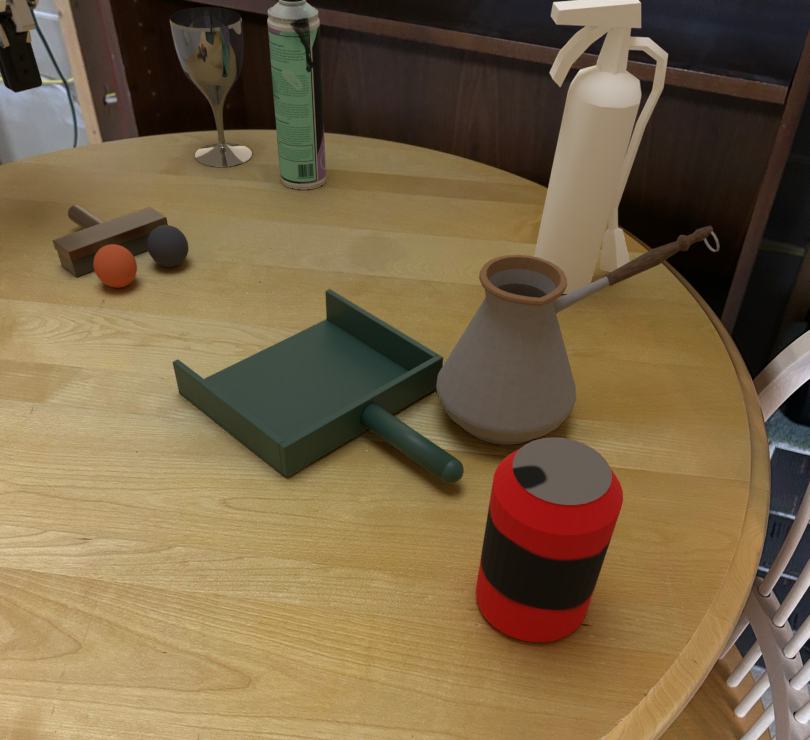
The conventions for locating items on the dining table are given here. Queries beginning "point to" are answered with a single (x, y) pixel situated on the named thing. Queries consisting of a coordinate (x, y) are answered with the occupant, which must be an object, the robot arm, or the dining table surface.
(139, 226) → the brush
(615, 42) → the fire extinguisher
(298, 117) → the spray can
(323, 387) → the dustpan
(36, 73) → the robot arm
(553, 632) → the soda can
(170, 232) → the grey ball
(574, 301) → the coffee pot
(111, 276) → the terracotta ball
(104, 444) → the dining table surface
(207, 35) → the wine glass
